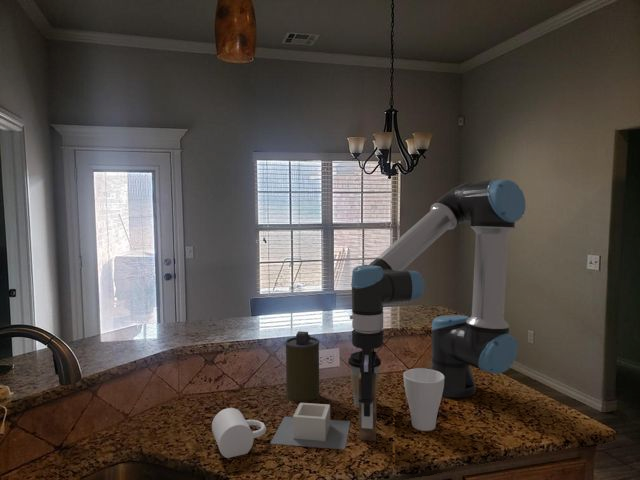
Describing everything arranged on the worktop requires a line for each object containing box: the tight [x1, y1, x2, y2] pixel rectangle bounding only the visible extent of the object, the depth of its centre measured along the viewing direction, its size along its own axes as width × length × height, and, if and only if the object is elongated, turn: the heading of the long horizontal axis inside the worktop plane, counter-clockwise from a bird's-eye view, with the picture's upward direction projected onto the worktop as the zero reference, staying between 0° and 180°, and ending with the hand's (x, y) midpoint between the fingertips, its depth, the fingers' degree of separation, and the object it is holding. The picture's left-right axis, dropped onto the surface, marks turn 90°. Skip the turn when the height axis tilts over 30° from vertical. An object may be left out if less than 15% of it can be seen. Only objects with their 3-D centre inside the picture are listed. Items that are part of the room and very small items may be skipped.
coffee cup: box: [347, 351, 382, 409], centre depth 125 cm, size 9×9×15 cm
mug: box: [211, 407, 267, 459], centre depth 104 cm, size 12×10×8 cm
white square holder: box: [292, 402, 331, 441], centre depth 110 cm, size 8×8×6 cm
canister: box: [284, 331, 321, 403], centre depth 132 cm, size 11×10×20 cm
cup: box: [402, 367, 445, 432], centre depth 114 cm, size 10×10×14 cm
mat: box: [269, 416, 351, 450], centre depth 110 cm, size 18×14×1 cm
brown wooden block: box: [358, 373, 377, 442], centre depth 107 cm, size 4×4×16 cm
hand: (367, 422), depth 107 cm, fingers open, 4 cm apart
